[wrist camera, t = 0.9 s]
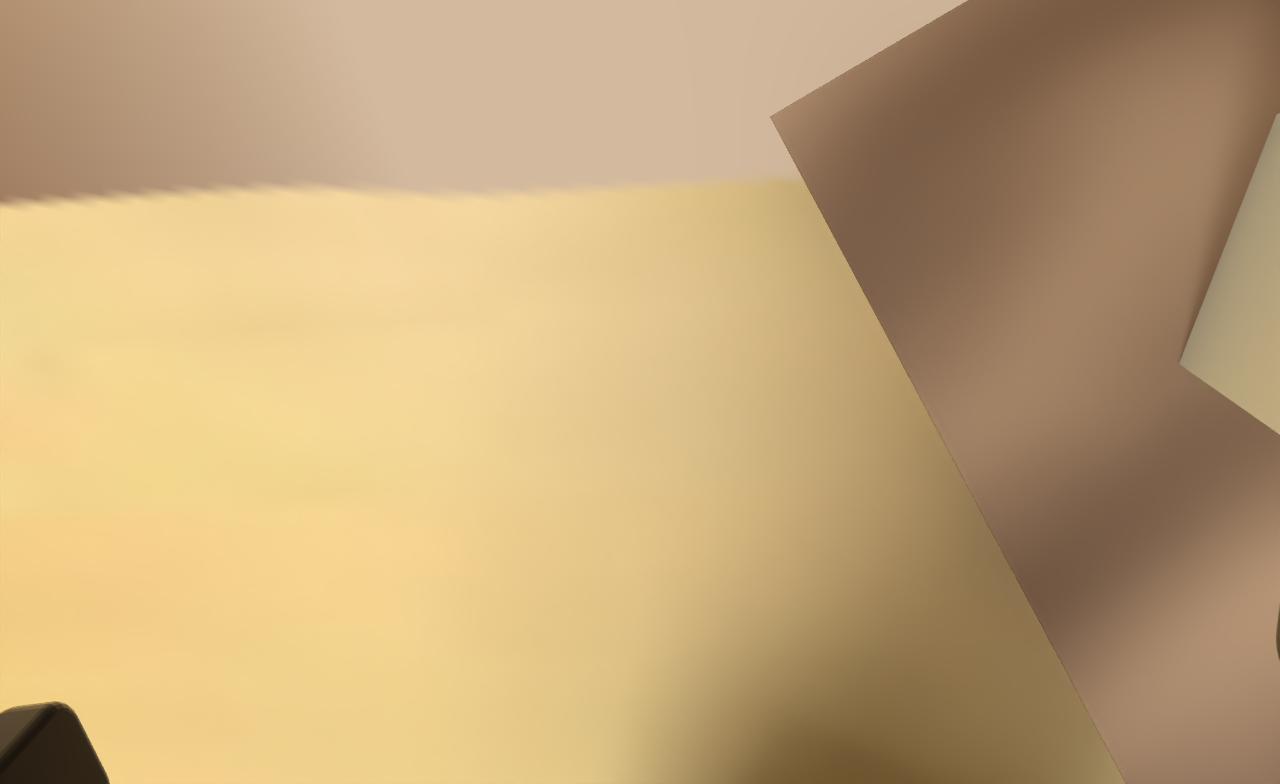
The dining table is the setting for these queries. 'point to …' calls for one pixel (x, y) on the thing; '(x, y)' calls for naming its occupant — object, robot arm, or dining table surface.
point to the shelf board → (1083, 334)
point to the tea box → (1246, 301)
